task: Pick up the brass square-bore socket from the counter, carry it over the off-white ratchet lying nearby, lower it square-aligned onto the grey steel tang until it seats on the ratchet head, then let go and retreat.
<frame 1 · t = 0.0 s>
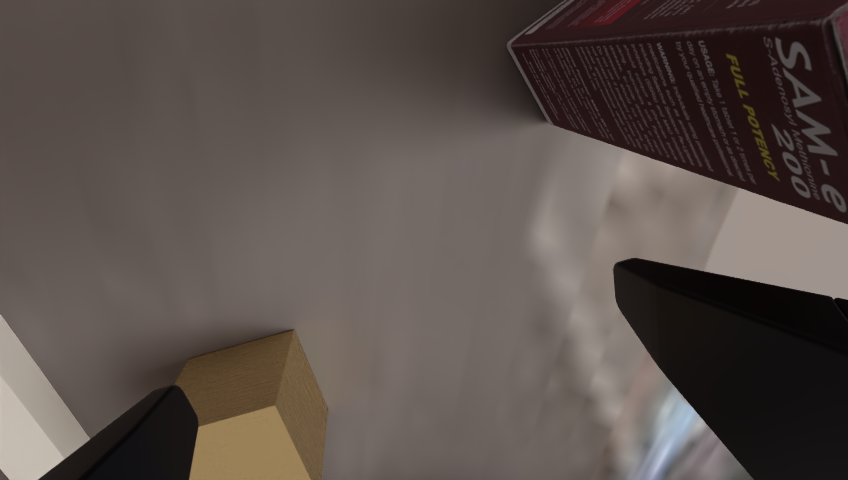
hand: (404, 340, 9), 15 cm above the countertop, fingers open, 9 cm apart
brass socket: (261, 385, 26), on the countertop
supplement box: (600, 33, 22), on the countertop
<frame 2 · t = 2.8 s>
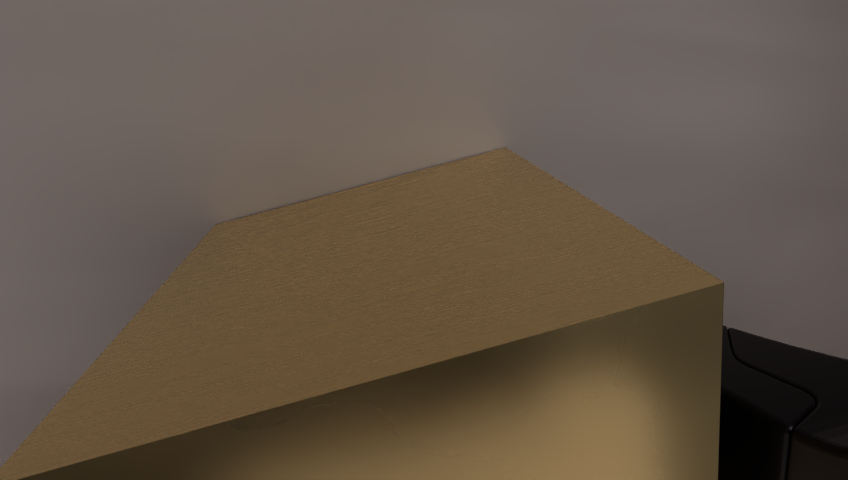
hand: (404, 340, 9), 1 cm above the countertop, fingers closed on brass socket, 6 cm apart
brass socket: (399, 310, 10), on the countertop, touching gripper
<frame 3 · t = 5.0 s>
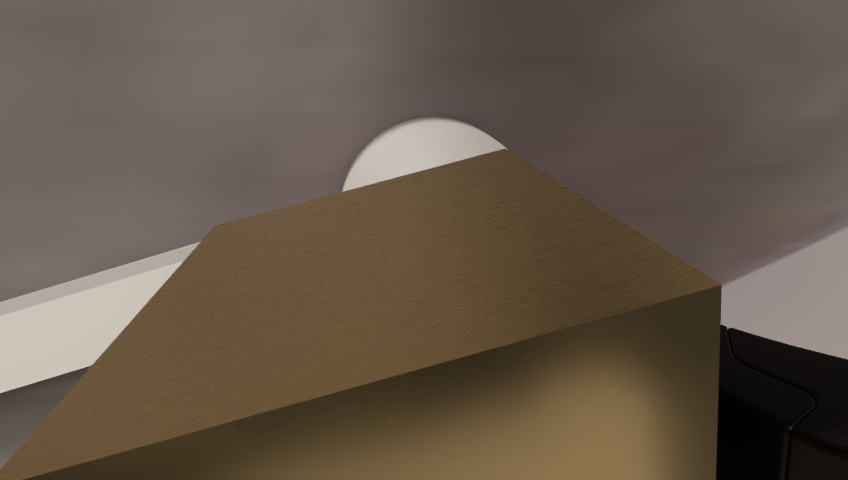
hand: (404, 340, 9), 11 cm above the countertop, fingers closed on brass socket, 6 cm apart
brass socket: (398, 311, 10), point 10 cm above the countertop, touching gripper
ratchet: (431, 208, 20), on the countertop
when the fingers open (4 cm above the countertop, at t = 7.3 s): brass socket stays where it is, resting on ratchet.
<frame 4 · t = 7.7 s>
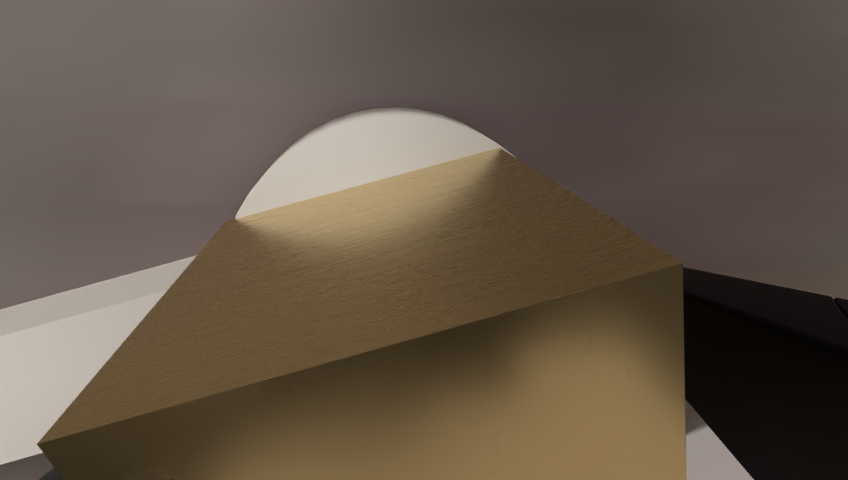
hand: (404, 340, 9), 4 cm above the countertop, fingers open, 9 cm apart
brass socket: (400, 302, 11), point 2 cm above the countertop, touching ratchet
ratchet: (396, 257, 13), on the countertop, touching brass socket
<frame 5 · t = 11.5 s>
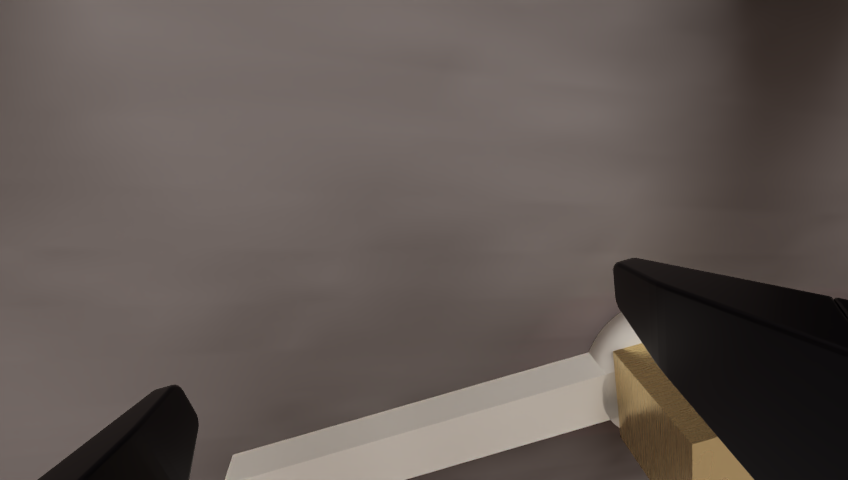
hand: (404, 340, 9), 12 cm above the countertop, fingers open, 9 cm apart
brass socket: (670, 380, 24), point 2 cm above the countertop, touching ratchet
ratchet: (651, 355, 26), on the countertop, touching brass socket
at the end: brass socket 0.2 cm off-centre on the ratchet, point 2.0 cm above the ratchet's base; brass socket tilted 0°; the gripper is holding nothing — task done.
